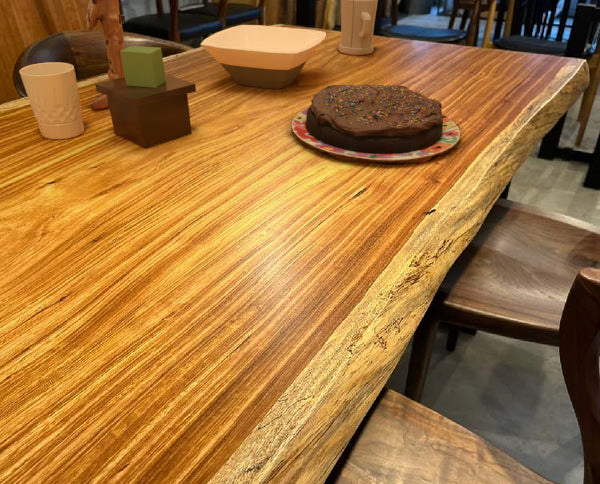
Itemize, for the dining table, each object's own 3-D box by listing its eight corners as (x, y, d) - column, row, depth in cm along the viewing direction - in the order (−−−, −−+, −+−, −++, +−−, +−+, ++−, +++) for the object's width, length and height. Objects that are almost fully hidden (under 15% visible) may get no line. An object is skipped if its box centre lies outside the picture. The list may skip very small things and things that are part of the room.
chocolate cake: (478, 169, 78) (488, 124, 74) (287, 166, 79) (287, 121, 75) (441, 107, 101) (447, 71, 97) (293, 105, 101) (293, 68, 97)
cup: (385, 52, 135) (391, -2, 127) (364, 59, 129) (369, 3, 122) (352, 45, 140) (355, -7, 133) (330, 51, 135) (333, -3, 127)
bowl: (301, 102, 103) (302, 54, 97) (194, 89, 108) (189, 44, 103) (333, 72, 119) (334, 31, 114) (238, 63, 125) (236, 23, 120)
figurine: (103, 93, 106) (79, -25, 93) (143, 95, 105) (124, -23, 93) (78, 110, 97) (48, -17, 85) (122, 113, 96) (98, -15, 84)
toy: (126, 85, 83) (119, 50, 80) (136, 79, 85) (131, 45, 82) (156, 88, 82) (150, 53, 79) (166, 81, 85) (161, 47, 82)
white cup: (69, 121, 93) (53, 59, 87) (98, 130, 89) (84, 67, 83) (28, 134, 88) (8, 69, 82) (57, 145, 84) (39, 78, 78)
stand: (105, 134, 88) (95, 83, 83) (161, 117, 95) (154, 70, 90) (144, 152, 82) (134, 99, 77) (200, 133, 89) (195, 83, 84)
